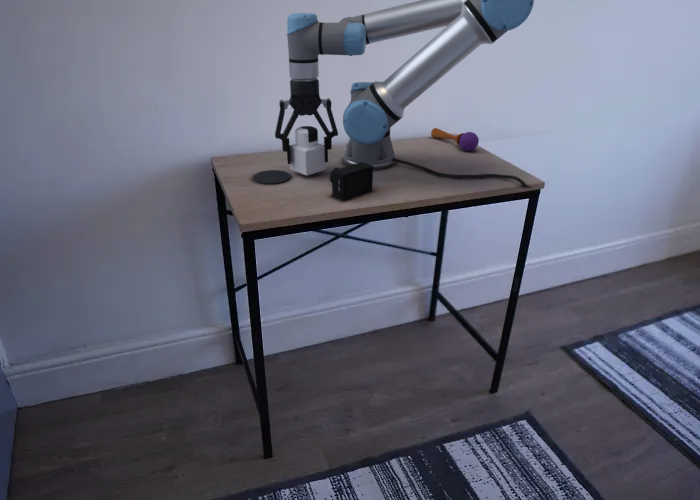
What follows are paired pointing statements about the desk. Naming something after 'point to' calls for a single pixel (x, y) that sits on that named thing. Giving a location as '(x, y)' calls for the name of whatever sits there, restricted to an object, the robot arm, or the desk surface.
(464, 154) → the desk surface
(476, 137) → the maraca
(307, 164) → the medicine bottle
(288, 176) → the coaster
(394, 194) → the desk surface
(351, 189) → the digital camera
